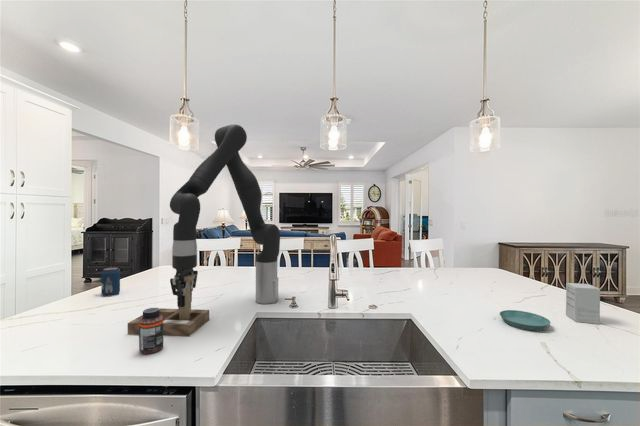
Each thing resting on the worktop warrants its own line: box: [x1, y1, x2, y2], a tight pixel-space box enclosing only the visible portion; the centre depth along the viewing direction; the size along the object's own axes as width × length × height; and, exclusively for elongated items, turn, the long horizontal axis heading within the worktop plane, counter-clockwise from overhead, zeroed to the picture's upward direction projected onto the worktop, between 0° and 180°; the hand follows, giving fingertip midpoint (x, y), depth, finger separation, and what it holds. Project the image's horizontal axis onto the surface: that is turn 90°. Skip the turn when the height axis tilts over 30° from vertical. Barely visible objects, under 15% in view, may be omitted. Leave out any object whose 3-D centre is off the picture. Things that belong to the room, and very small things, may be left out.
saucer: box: [498, 309, 551, 331], centre depth 104 cm, size 15×15×3 cm
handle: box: [173, 274, 195, 320], centre depth 99 cm, size 5×6×15 cm
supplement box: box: [565, 282, 601, 325], centre depth 108 cm, size 7×7×13 cm
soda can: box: [100, 266, 121, 297], centre depth 135 cm, size 7×7×12 cm
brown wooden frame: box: [127, 307, 210, 337], centre depth 99 cm, size 20×14×4 cm
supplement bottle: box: [138, 307, 164, 355], centre depth 83 cm, size 6×6×11 cm
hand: (184, 304), depth 99 cm, fingers closed on handle, 4 cm apart
